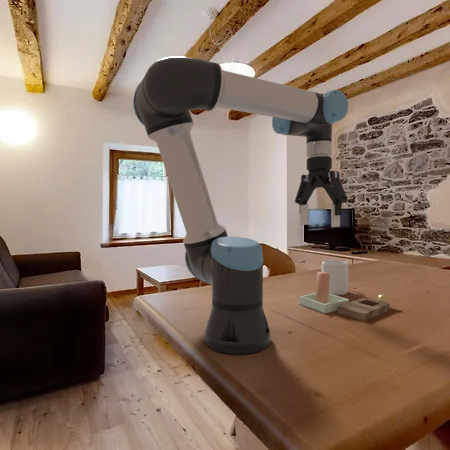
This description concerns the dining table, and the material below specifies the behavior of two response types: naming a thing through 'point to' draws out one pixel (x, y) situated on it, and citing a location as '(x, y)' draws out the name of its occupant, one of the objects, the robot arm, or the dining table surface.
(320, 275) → the pink tapered rounded cylinder
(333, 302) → the tray
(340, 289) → the mug
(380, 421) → the dining table surface
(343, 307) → the wooden block with recess
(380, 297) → the bench dog
